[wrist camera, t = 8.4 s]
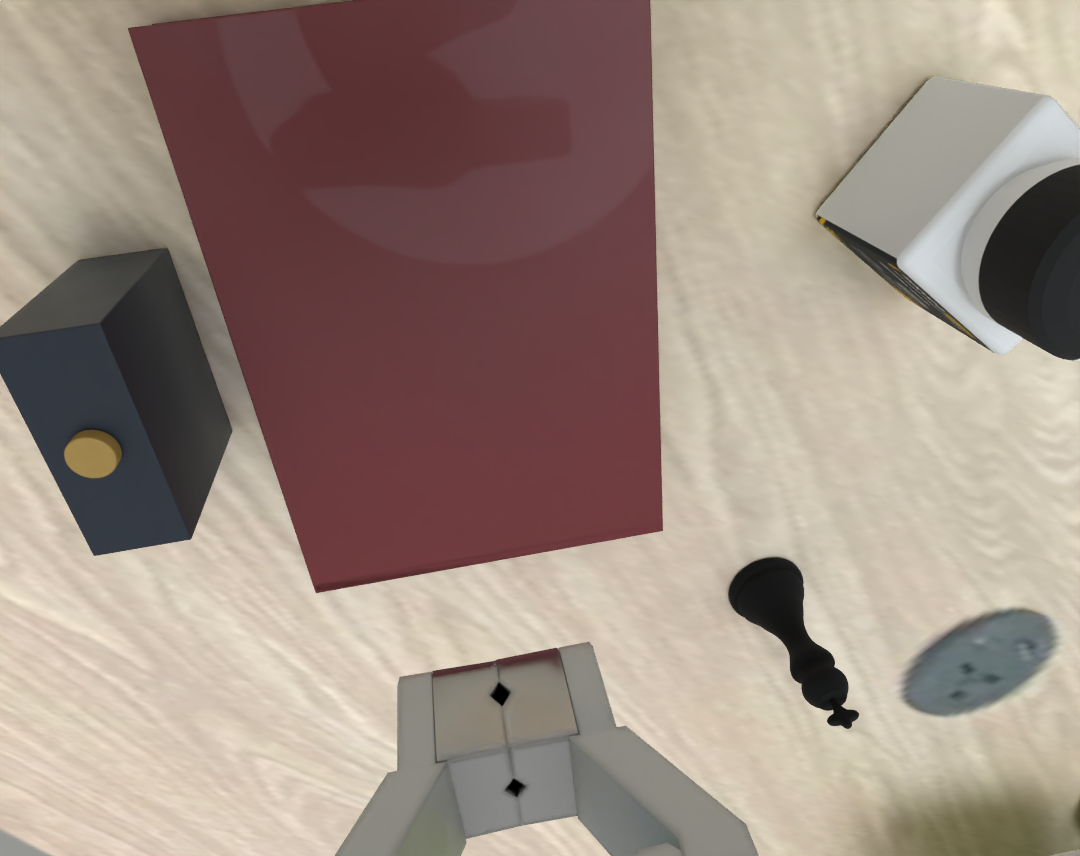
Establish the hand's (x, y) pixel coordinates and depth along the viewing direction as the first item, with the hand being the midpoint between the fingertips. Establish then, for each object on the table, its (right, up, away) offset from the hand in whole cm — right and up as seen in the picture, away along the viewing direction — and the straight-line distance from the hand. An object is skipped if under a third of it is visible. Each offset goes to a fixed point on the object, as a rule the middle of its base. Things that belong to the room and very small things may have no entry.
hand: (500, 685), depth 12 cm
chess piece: (+14, -5, +33) cm, 37 cm away
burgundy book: (-3, +9, +22) cm, 24 cm away
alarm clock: (-15, +5, +17) cm, 23 cm away
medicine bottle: (+17, +15, +23) cm, 32 cm away
